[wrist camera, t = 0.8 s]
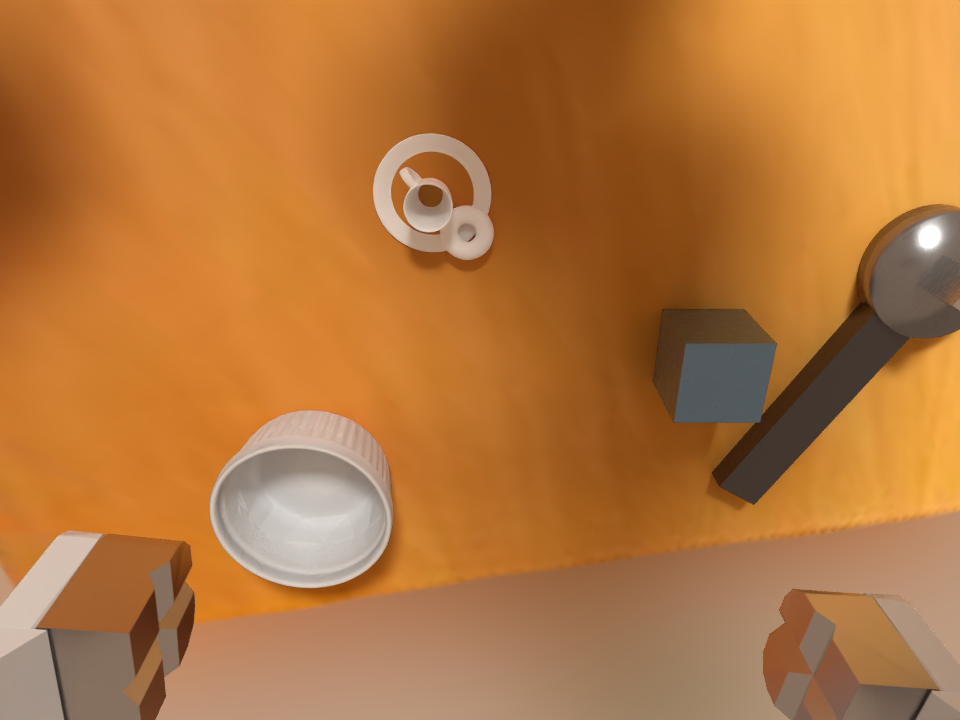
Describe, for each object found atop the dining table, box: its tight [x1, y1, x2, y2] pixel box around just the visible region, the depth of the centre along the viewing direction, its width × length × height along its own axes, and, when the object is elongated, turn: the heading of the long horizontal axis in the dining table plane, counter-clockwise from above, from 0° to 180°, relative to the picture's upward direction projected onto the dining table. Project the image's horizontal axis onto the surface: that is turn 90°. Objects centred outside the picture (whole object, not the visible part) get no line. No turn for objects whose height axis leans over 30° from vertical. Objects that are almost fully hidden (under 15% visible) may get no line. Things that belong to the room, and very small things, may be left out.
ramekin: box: [209, 410, 394, 588], centre depth 53 cm, size 13×13×7 cm
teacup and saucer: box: [373, 133, 494, 260], centre depth 46 cm, size 9×8×4 cm
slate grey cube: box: [653, 309, 777, 423], centre depth 50 cm, size 6×6×6 cm
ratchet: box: [712, 204, 960, 505], centre depth 50 cm, size 26×9×6 cm, turn 150°
